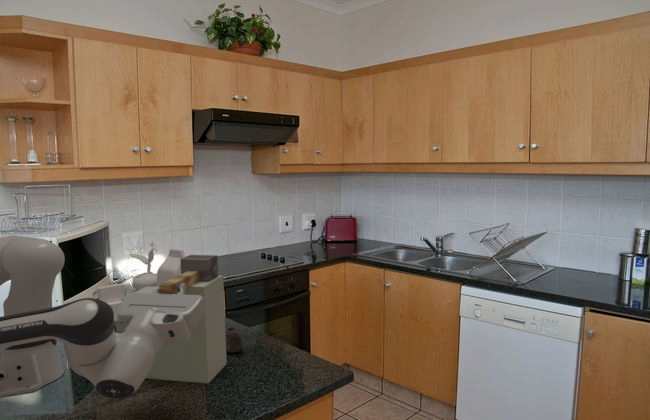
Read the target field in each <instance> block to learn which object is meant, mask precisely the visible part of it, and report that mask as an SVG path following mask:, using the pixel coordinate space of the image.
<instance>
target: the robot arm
mask: <svg viewBox="0 0 650 420" xmlns="http://www.w3.org/2000/svg"><path fill="white" fill-rule="evenodd" d="M65 259H66V258H65V253H64V252H63V250H62V249H61V247H60V246H58V245H57V244H56V243H53V242H51V241H50V240H48V239H44V238H37V237H29V236H22V235H21V236H20V235H7V236H3V237H2V236H1V237H0V287H1V286H2V285H4V284H5V283H7V282H9V281H10V286H9V291H8V294H7V297H6V298H5V300H4V301H3V303H2V307H3V308H2V309H3V316H0V397H7V396H13V395H20V394H27V393H33V392H36V391H38V390H40V389H41V388H42V387H44V386H45V385H48V384H50V383H52V382H54V381H56V380H57V379H60V378H61V377H62V376H63V375H64V373H65V368H64V367H63V365H62V361H61V359H60V356H59V352H58V348H57V347H58V346H57V343H58V341H59V342H61V343H62V344H63V347H64V351H65V355H66V359H67V361H68V364H69V365H68V366H69V367H70V368H71V371H72V372H73V373H74V374H76V375H77V376H80V377H82V378H83V377H84V378H85V379H87V380H88V381H89V382H91V383H92V385H93V386H94V388H95V390H96V392H97V393H98V394H99V395H101V396H103V397H105V398H108V399H112V400H120V399H121V400H122V399H123V400H124V399H127V398H128V397H130V396H132V395H134V393H136V391H137V390H138V389H139V388H140V387H141V386H142V384H143V382H144V381H145V379H147V378H146V376H147V374H148V373H149V371H150V369H151V367H152V366H153V364H154V360H155V356H156V354H157V353H158V352H159V351H160V350H161V349H162V347H163V346H166V345H168V344H172V343H176V342H180V341H185V340H188V339H189V337H190V335H191V334H190V330H192V329H193V328H195V327H196V326H197V324H198V323H199V321H200V320H201V318H202V316H203V314H204V312H205V310H206V303H205V301H204V299H203V297H202V296H201V295H185V290H186V289H187V286H186V283H179V285H178V286H177V289H178V291H179V292H178V293H177V294H160V291H159V287H158V288H157V289H155V290H154V291H153V292H152V293H136V291H134V292H133V291H130V292H129V293H127V294H124V298H123V300H122V302H121V304H120V306H119V308H118V311H117V313H116V315H115V316H114V312H113V310H112V308H111V306H110V305H109V304H107V303H106V302H104V301H102V300H99V299H98V298H92V297H85V298H83V297H82V298H79V299H76V300H72V301H70V302H67V303H64V304H61V305H58V306H53V292H54V285H55V281H56V279H57V276H58V275H59V274H60V272H61V271H62V270H63V268H64V265H65V261H66V260H65ZM163 283H164V282H163ZM115 327H117V328H123V327H127V328H126V329H125V331H124V330H123V332H122V333H119V332H116V330H115Z"/></svg>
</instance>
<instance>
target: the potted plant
mask: <svg viewBox="0 0 650 420" xmlns="http://www.w3.org/2000/svg"><path fill="white" fill-rule="evenodd" d="M150 246H151V249H150V250H149V251H148V254H147V256H145V255H141V254H135V253H134V254H133V253H132V254H129V256H130V257H131V258H135V259H136V260H139V261H140V262H141V263H143V264H144V265H147V269H146V271H147V272H143V273H139V274H138V275H136V276H133V278H132V287H133V288H134V289H135V291H138V290H140V289H142V288H145V287H147V286H150V287H157V273H154V272H153V271H151V269H152V265H151V263H152V262H153V261H154V256H155V254H154V251H155V252H157V251H158V249H157V246H156V247H154V246H155V243H154V242H153V241H151V244H150Z"/></svg>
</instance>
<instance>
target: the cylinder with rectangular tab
mask: <svg viewBox="0 0 650 420" xmlns="http://www.w3.org/2000/svg"><path fill="white" fill-rule="evenodd" d="M123 297H125V285H124V283H122V282H121V283H114V284H110V285H109V284H108V285H103V286H98V287H97V299H99V300H102V301H104V302H106V303H107V304H109V305H110V306H111V308H112V310H113V312H114V316H115V315H116V313H117V311H118V308H119V306H120V304H121V302H122V298H123Z"/></svg>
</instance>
